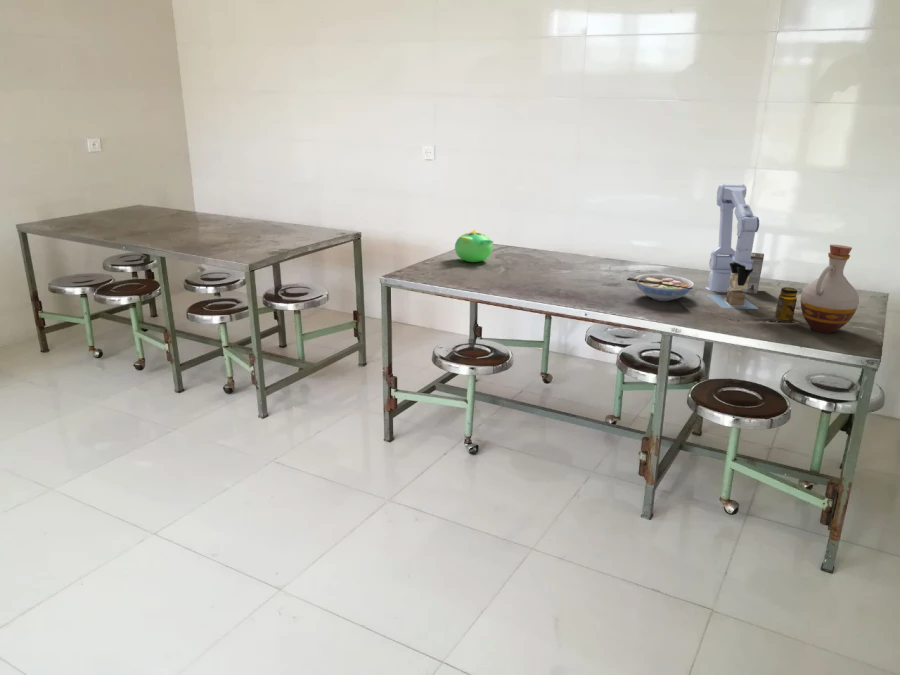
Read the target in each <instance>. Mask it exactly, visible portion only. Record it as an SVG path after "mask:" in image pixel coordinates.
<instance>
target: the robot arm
mask: <svg viewBox="0 0 900 675" xmlns="http://www.w3.org/2000/svg"><path fill="white" fill-rule="evenodd" d="M746 196H747V186H746V185H745V184H743V183H742V184H730V183H729V184H727V183H721V184H720V185H718V187H717V191H716V206H718V207H719V210H720V212H719V213H720V214H719V215H720V216H719V231H718V232H719V233H718V247H717V248H716V249H714V250H712V252H710V258H709V262H708V263H709V269H710V270H711V271H710V272H709V275H708V281H707V286H705V290H709V291H712V292H716V293H727V292H728V290H730V286H729V284H730V278H731V273H738V285H739V286H744V284H745V282H746V280H747V278H748V276H749V274H750V273H751V272H752V271H753V269H752V264H751V263H753V260H750V259H751V254H752V253H753V247H754V241H755V235H756V233H758V231H759V229H760V228H759V227H760V219H759V217H758V216H756V215H754V213H753V211H752V208H751V206H750V205H749V204H746ZM734 215H735V217H736V220H737V222H736V223H737V224H736V228H737V231H736V236H737V239H736V245H735V250H734V249H733V248H732V239H733V238H732V237H733V236H732V235H733V219H734Z"/></svg>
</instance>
